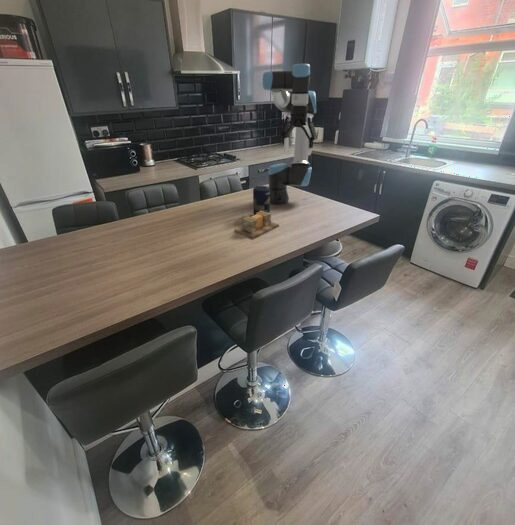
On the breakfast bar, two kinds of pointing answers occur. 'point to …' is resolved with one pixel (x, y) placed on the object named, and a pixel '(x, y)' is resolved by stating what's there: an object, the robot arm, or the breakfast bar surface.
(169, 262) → the breakfast bar surface
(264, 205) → the canister
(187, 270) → the breakfast bar surface
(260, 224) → the orange rectangular block
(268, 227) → the shaft bench
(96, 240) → the breakfast bar surface
